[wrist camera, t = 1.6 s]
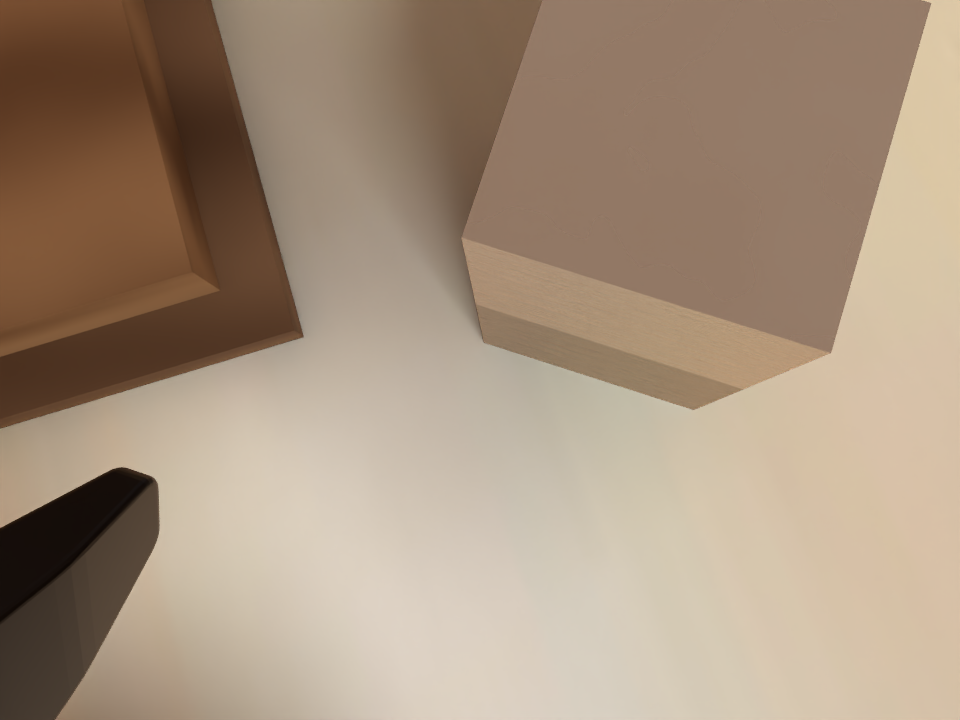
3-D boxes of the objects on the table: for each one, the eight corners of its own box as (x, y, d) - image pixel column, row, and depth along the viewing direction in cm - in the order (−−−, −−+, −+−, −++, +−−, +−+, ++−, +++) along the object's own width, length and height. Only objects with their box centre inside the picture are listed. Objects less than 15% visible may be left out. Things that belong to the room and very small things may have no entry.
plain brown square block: (693, 410, 23) (831, 352, 13) (483, 342, 23) (461, 237, 13) (755, 205, 23) (931, 2, 14) (550, 144, 24) (575, -97, 14)
